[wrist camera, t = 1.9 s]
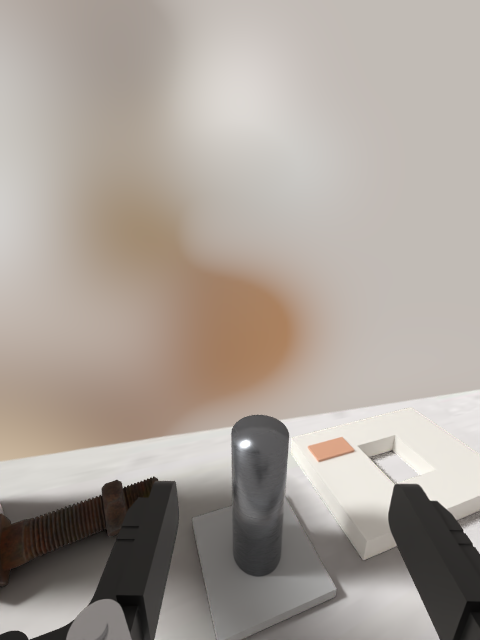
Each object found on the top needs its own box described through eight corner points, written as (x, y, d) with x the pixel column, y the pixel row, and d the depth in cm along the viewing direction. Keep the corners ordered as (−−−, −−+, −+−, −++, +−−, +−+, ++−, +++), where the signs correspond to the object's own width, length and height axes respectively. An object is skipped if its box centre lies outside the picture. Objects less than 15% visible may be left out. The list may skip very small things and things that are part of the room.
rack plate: (363, 560, 28) (367, 538, 27) (290, 453, 41) (291, 435, 40) (510, 497, 34) (518, 478, 33) (408, 420, 47) (411, 405, 46)
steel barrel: (224, 561, 27) (221, 442, 23) (245, 519, 31) (246, 409, 26) (271, 586, 25) (277, 462, 21) (287, 538, 29) (295, 424, 25)
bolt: (163, 522, 34) (-9, 594, 27) (152, 475, 36) (-6, 530, 30) (168, 509, 30) (-33, 590, 23) (156, 458, 32) (-26, 516, 26)
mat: (218, 650, 22) (218, 642, 22) (192, 525, 31) (191, 517, 31) (335, 596, 25) (336, 588, 25) (281, 496, 34) (281, 489, 34)
